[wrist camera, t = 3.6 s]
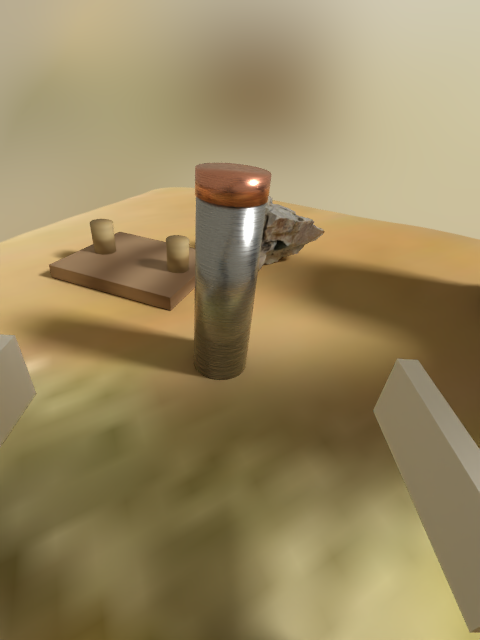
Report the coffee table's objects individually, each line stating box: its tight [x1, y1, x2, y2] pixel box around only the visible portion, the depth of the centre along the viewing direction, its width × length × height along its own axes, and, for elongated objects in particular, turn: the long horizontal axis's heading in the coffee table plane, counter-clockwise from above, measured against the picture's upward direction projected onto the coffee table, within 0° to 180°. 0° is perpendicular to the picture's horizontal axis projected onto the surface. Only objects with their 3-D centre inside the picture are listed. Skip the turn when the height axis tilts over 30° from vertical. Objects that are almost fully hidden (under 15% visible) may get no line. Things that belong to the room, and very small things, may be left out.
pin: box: [194, 163, 271, 380], centre depth 19 cm, size 4×4×12 cm
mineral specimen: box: [258, 196, 324, 271], centre depth 35 cm, size 10×8×10 cm
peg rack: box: [49, 219, 195, 310], centre depth 31 cm, size 12×10×4 cm
